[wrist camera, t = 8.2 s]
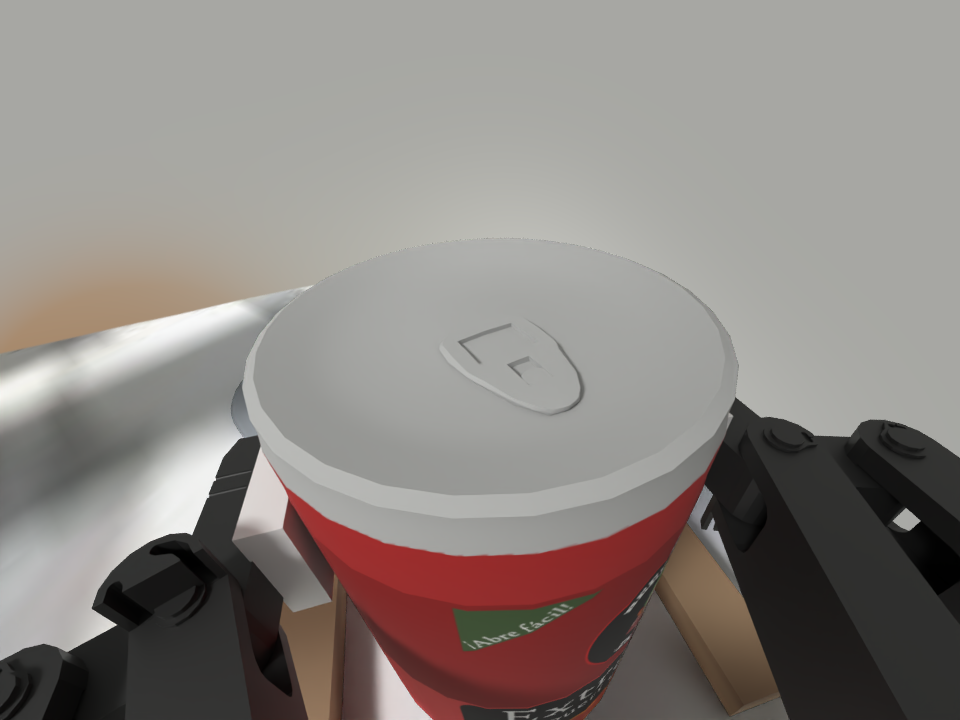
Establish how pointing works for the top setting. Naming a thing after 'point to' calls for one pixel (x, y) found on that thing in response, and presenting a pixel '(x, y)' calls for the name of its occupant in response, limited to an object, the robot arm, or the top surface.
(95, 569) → the top surface
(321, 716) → the walnut cradle
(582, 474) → the canned food
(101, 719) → the robot arm
